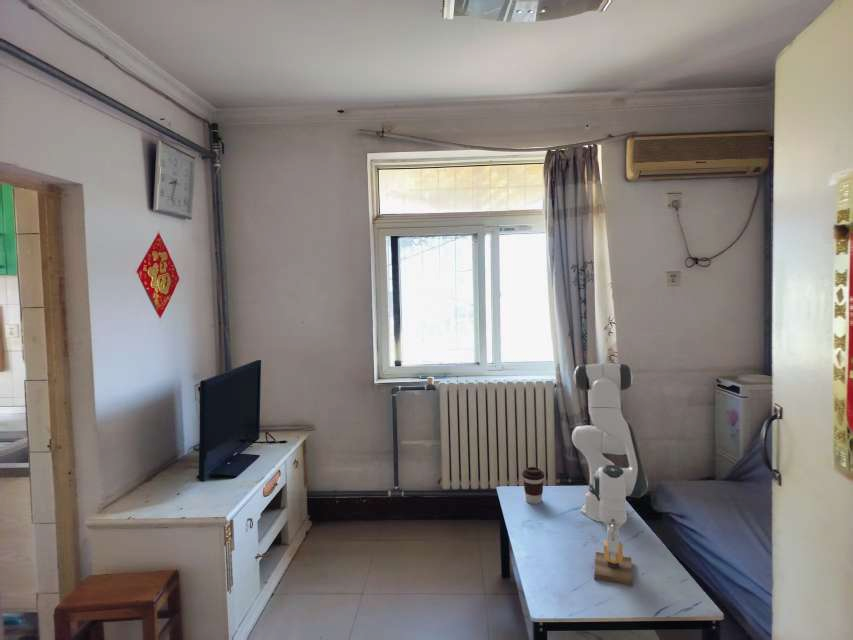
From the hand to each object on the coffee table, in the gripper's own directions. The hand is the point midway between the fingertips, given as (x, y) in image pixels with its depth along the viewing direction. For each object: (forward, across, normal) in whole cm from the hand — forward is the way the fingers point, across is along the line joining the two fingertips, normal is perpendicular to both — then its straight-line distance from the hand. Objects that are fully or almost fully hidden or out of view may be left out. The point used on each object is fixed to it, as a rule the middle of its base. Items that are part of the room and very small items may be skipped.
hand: (613, 551), depth 167 cm
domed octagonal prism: (+2, 0, 0) cm, 2 cm away
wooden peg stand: (+7, 0, 0) cm, 7 cm away
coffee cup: (+7, +46, +35) cm, 58 cm away
